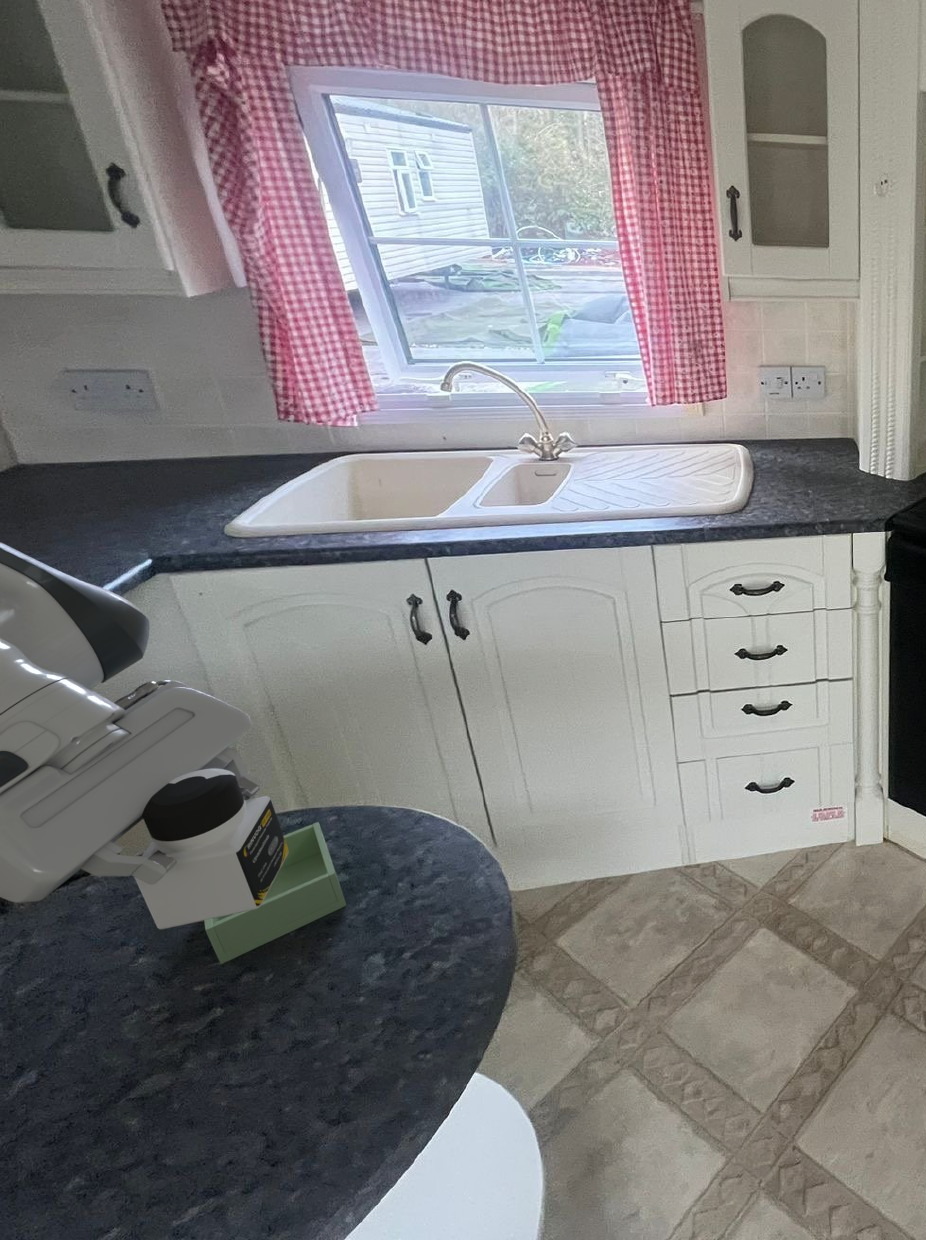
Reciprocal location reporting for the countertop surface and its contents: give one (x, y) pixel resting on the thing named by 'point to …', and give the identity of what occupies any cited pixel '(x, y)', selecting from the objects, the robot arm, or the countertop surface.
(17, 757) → the robot arm
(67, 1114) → the countertop surface
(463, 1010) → the countertop surface
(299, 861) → the tub
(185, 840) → the medicine bottle
